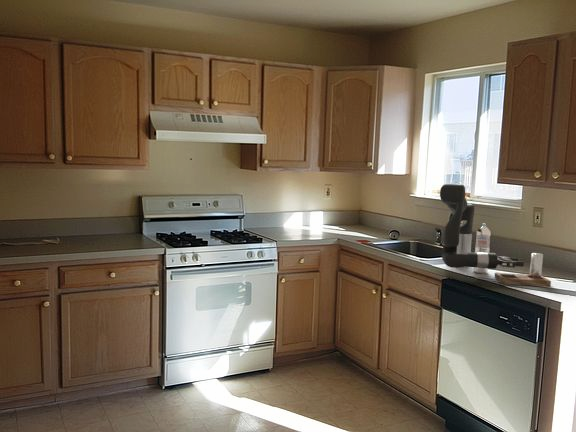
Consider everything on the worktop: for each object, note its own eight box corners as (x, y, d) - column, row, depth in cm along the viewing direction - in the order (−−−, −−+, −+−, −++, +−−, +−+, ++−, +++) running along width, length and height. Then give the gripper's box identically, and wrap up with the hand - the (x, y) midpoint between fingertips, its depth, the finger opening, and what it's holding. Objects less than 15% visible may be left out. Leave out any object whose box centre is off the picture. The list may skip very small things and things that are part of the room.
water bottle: (470, 271, 281) (474, 223, 278) (477, 270, 286) (481, 222, 283) (483, 274, 276) (487, 224, 273) (489, 272, 281) (493, 224, 278)
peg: (527, 281, 265) (530, 252, 263) (538, 281, 265) (540, 253, 263) (530, 283, 260) (533, 254, 259) (541, 284, 260) (544, 255, 258)
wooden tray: (494, 277, 270) (495, 272, 270) (540, 280, 268) (541, 274, 268) (501, 283, 258) (502, 278, 258) (550, 286, 256) (551, 280, 256)
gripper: (490, 255, 256) (526, 257, 255) (482, 250, 270) (516, 251, 269) (489, 271, 257) (524, 273, 256) (481, 265, 271) (514, 266, 270)
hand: (520, 262), depth 262 cm, fingers open, 8 cm apart
